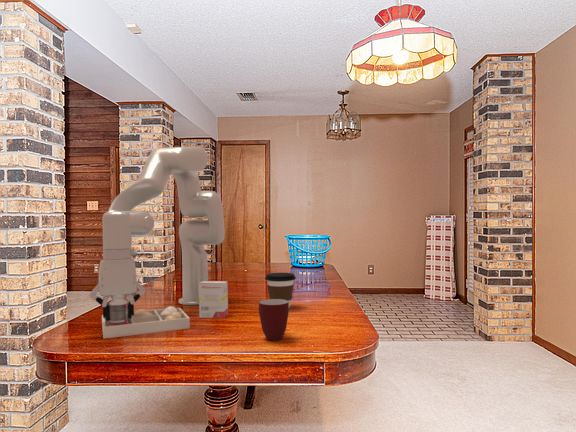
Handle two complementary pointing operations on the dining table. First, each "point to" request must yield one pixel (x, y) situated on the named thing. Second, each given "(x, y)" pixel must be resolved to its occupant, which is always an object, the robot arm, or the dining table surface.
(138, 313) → the brown egg
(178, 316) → the brown egg
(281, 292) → the coffee cup
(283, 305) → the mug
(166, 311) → the cream egg
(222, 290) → the ink box
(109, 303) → the pill bottle
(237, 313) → the dining table surface
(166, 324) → the grey compartment tray
